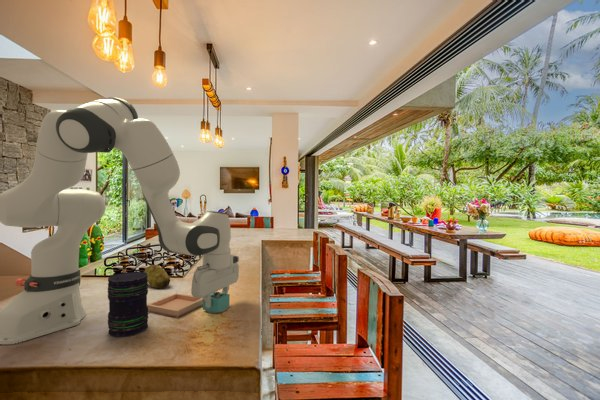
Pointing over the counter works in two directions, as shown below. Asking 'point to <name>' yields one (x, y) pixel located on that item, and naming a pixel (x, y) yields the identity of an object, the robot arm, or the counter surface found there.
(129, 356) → the counter surface
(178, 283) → the counter surface
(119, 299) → the storage jar
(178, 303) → the tray
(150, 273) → the potato
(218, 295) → the grey peg stand
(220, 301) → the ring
